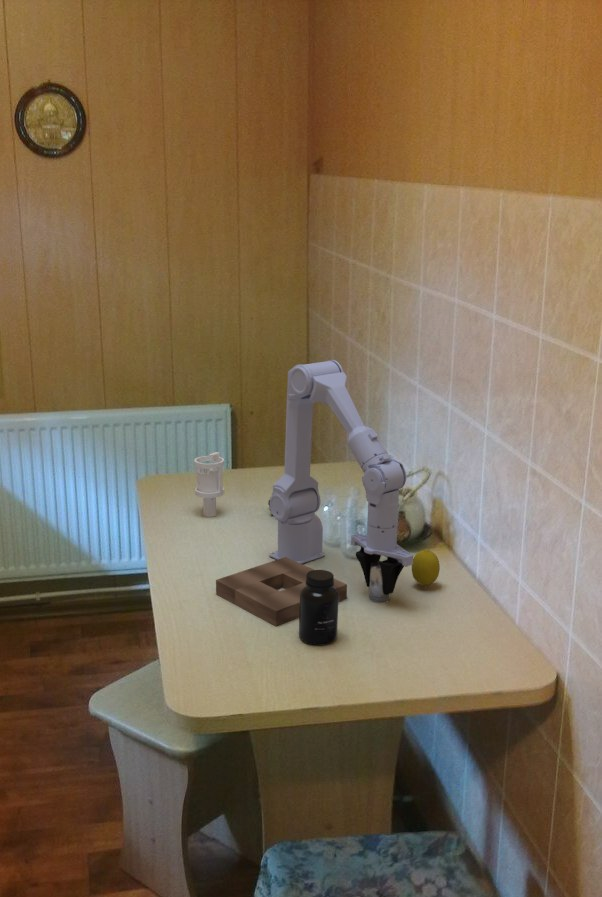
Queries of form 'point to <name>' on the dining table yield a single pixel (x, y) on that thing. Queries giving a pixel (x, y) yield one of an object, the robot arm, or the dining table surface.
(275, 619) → the dock block
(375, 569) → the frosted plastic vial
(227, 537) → the dining table surface
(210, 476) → the strainer
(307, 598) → the supplement bottle
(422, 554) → the lemon
